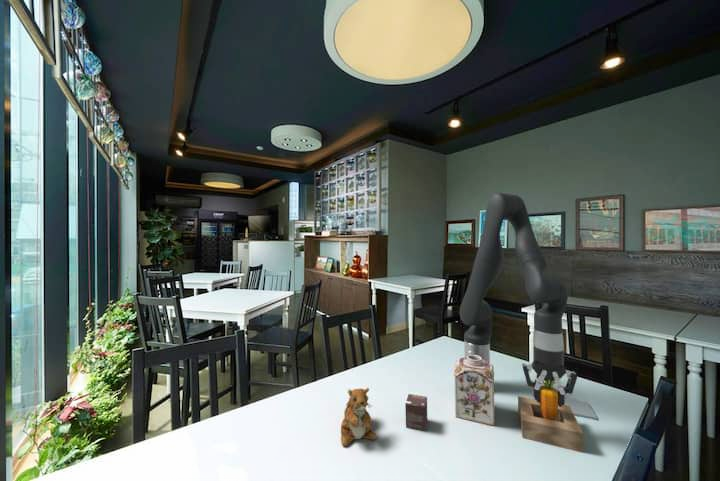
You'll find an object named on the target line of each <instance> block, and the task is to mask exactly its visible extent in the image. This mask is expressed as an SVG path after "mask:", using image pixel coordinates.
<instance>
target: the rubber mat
mask: <svg viewBox="0 0 720 481" xmlns="http://www.w3.org/2000/svg"><path fill="white" fill-rule="evenodd" d="M564 398H565V404H564V405H567V406H570V408H571V410H572V412H573V414H574V416H575V417H580V418H586V419H589V420H590V419H591V420H595V421H597V420H598V417H597V415H596V414H595V412H594V410H593V409H592V407H591V406H590V404H589V402H588V401H584V400H578V399H572V398H568V397H564Z"/></svg>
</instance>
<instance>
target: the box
mask: <svg viewBox="0 0 720 481" xmlns="http://www.w3.org/2000/svg"><path fill="white" fill-rule="evenodd" d="M404 406H405V427H406V428H409V429H414V430H419V431H420V430H421V431H424V432H425V431H427V424H428V396H423V395H418V394H411V393H408V395H407V398H406V401H405V405H404Z"/></svg>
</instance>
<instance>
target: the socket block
mask: <svg viewBox="0 0 720 481" xmlns="http://www.w3.org/2000/svg"><path fill="white" fill-rule="evenodd" d="M517 412H518V413H517V414H518V418H519V423H520V425H519V426H520V431H521V437H522V439H527V440H530V441H534V442H539V443H543V444H547V445H552V446H554V447H555V446H556V447H560V448H563V449H568V450H571V451H576V452H579V453H584V433H583V430H582V429H581V426H580V425H579V423H578V420H577V418H576V416H575V415H574V414H573V412H572V410H571V408H570V406H567V405H562V407H559V405H558V411H557V416H556V419H555V421H552V420H548V419H544V418H543V415H542V411H541V406H540V403H539V402H537V400H535V398H529V397H525V396H524V397H523V396H519V395H518V396H517Z"/></svg>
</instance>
